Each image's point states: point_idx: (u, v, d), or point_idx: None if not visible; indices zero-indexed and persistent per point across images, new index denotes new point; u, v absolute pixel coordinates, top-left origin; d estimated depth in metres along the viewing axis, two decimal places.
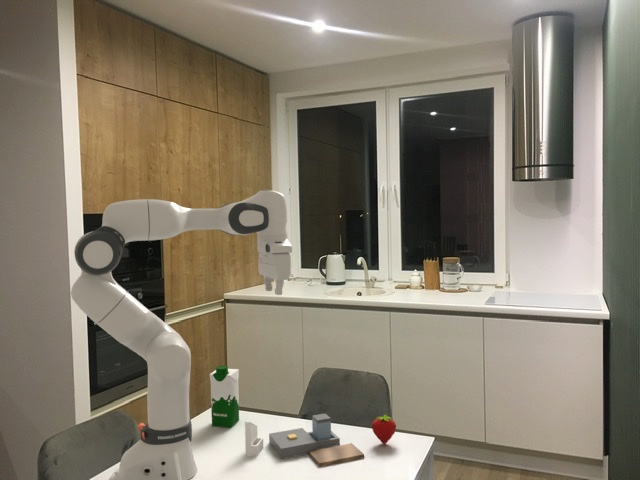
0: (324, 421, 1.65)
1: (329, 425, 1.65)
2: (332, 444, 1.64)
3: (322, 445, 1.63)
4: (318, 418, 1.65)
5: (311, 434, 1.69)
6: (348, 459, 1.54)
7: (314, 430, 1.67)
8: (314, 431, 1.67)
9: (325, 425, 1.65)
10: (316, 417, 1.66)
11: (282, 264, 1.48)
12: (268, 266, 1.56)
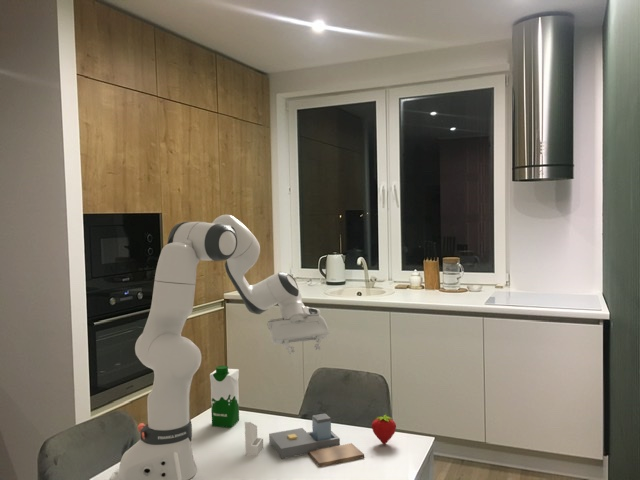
0: (324, 421, 1.65)
1: (329, 425, 1.65)
2: (332, 444, 1.64)
3: (322, 445, 1.63)
4: (318, 418, 1.65)
5: (311, 434, 1.69)
6: (348, 459, 1.54)
7: (314, 430, 1.67)
8: (314, 431, 1.67)
9: (325, 425, 1.65)
10: (316, 417, 1.66)
11: None
12: (303, 327, 1.83)
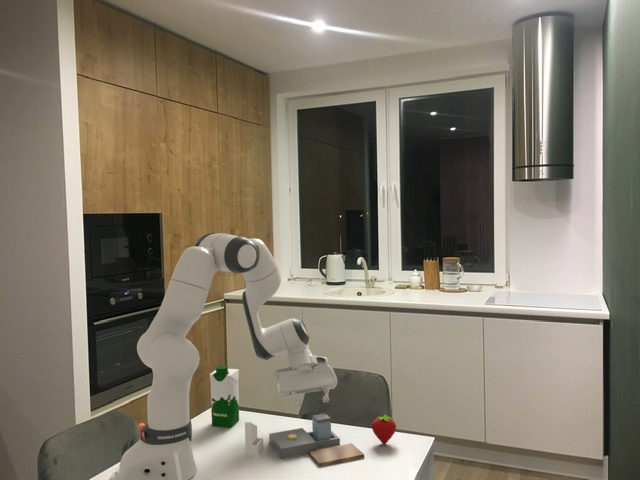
0: (324, 421, 1.65)
1: (329, 425, 1.66)
2: (332, 444, 1.64)
3: (322, 445, 1.63)
4: (318, 418, 1.65)
5: (311, 434, 1.69)
6: (348, 459, 1.54)
7: (314, 430, 1.67)
8: (314, 431, 1.67)
9: (325, 425, 1.65)
10: (316, 417, 1.66)
11: None
12: (311, 378, 1.77)
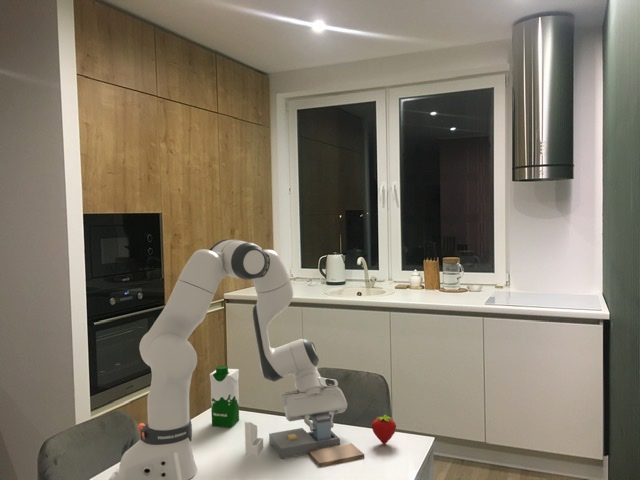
0: (324, 421, 1.65)
1: (329, 425, 1.65)
2: (332, 444, 1.64)
3: (322, 445, 1.63)
4: (318, 418, 1.65)
5: (311, 434, 1.69)
6: (348, 459, 1.54)
7: None
8: (314, 431, 1.67)
9: (325, 424, 1.65)
10: (316, 417, 1.66)
11: None
12: (320, 401, 1.71)
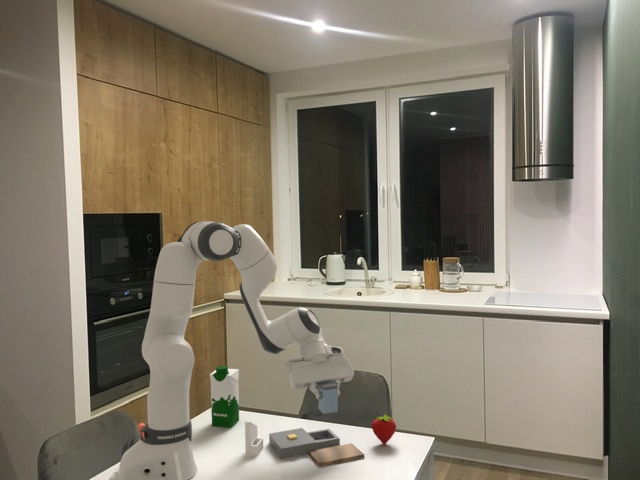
0: (330, 388, 1.59)
1: (336, 392, 1.60)
2: (332, 444, 1.64)
3: (322, 445, 1.63)
4: (324, 385, 1.60)
5: (311, 434, 1.69)
6: (348, 459, 1.54)
7: None
8: (320, 399, 1.61)
9: (331, 392, 1.59)
10: (322, 384, 1.61)
11: None
12: (326, 369, 1.65)
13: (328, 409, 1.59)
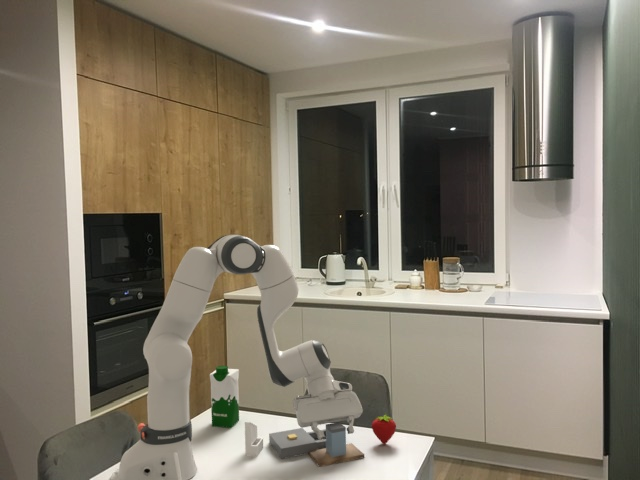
0: (338, 431, 1.55)
1: (344, 435, 1.55)
2: None
3: (322, 445, 1.63)
4: (332, 427, 1.55)
5: (311, 434, 1.69)
6: (348, 459, 1.54)
7: (328, 440, 1.56)
8: (328, 441, 1.56)
9: (339, 434, 1.55)
10: (330, 426, 1.56)
11: None
12: (333, 406, 1.60)
13: (336, 452, 1.54)
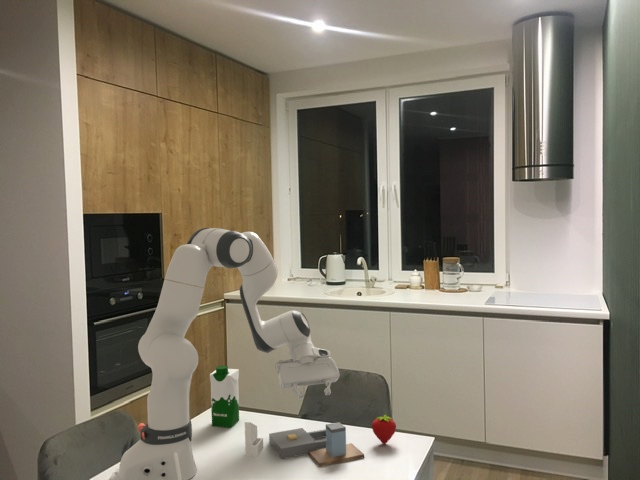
0: (338, 431, 1.55)
1: (344, 435, 1.55)
2: None
3: (322, 445, 1.63)
4: (332, 427, 1.55)
5: (311, 434, 1.69)
6: (348, 459, 1.54)
7: (328, 440, 1.56)
8: (328, 441, 1.56)
9: (339, 434, 1.55)
10: (330, 426, 1.56)
11: None
12: (313, 370, 1.75)
13: (336, 452, 1.54)
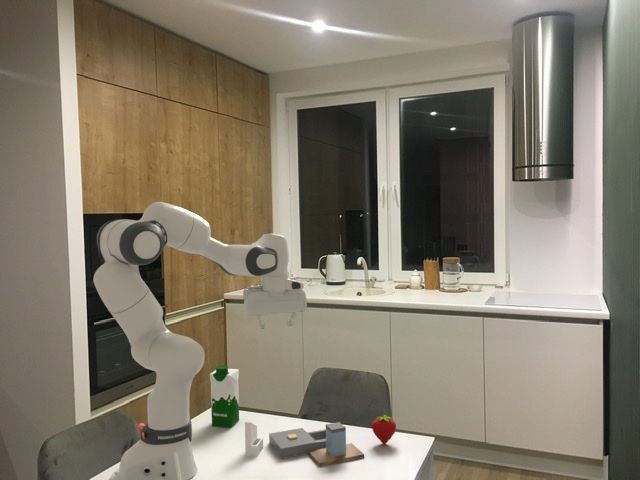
0: (338, 431, 1.55)
1: (344, 435, 1.55)
2: None
3: (322, 445, 1.63)
4: (332, 427, 1.55)
5: (311, 434, 1.69)
6: (348, 459, 1.54)
7: (328, 440, 1.56)
8: (328, 441, 1.56)
9: (339, 434, 1.55)
10: (330, 426, 1.56)
11: None
12: (280, 302, 1.69)
13: (336, 452, 1.54)
